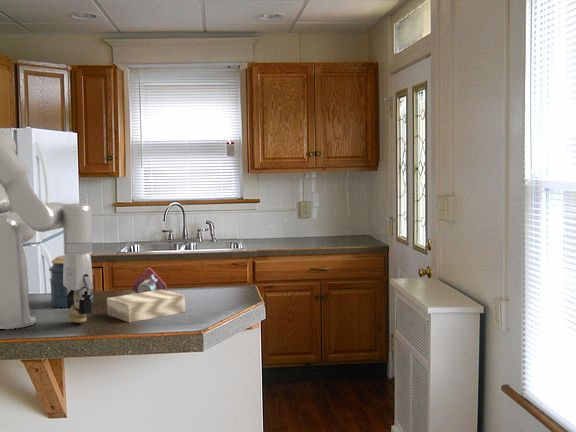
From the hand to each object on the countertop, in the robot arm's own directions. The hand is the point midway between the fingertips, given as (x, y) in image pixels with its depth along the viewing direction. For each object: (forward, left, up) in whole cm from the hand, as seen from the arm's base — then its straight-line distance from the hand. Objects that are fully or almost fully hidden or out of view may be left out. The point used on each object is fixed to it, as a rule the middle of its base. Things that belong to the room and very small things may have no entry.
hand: (79, 310), depth 203 cm
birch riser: (+20, -2, -4) cm, 20 cm away
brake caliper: (+28, +13, -4) cm, 31 cm away
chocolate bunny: (0, +1, -3) cm, 3 cm away
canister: (+10, +29, -4) cm, 31 cm away
